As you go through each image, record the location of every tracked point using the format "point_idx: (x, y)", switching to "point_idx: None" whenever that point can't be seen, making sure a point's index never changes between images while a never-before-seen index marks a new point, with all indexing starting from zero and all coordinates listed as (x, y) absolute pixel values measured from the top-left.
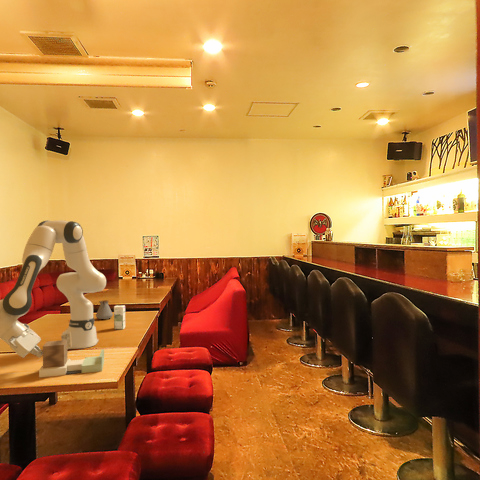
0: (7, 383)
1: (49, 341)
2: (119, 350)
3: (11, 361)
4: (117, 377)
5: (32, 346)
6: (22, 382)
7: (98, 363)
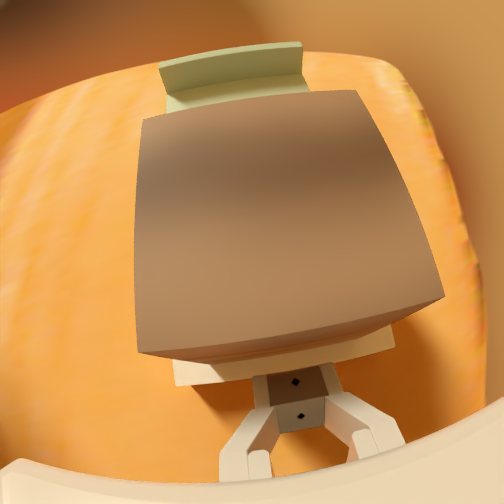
0: None
1: (141, 314)
2: (47, 121)
3: None
4: (361, 57)
5: (470, 432)
6: (438, 406)
7: (289, 76)
